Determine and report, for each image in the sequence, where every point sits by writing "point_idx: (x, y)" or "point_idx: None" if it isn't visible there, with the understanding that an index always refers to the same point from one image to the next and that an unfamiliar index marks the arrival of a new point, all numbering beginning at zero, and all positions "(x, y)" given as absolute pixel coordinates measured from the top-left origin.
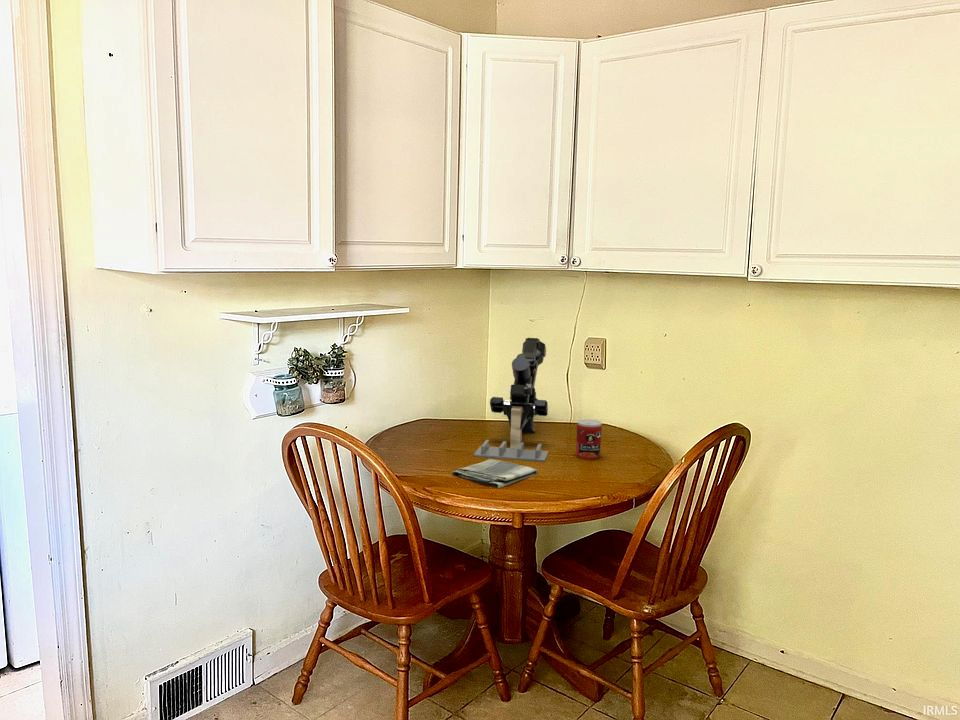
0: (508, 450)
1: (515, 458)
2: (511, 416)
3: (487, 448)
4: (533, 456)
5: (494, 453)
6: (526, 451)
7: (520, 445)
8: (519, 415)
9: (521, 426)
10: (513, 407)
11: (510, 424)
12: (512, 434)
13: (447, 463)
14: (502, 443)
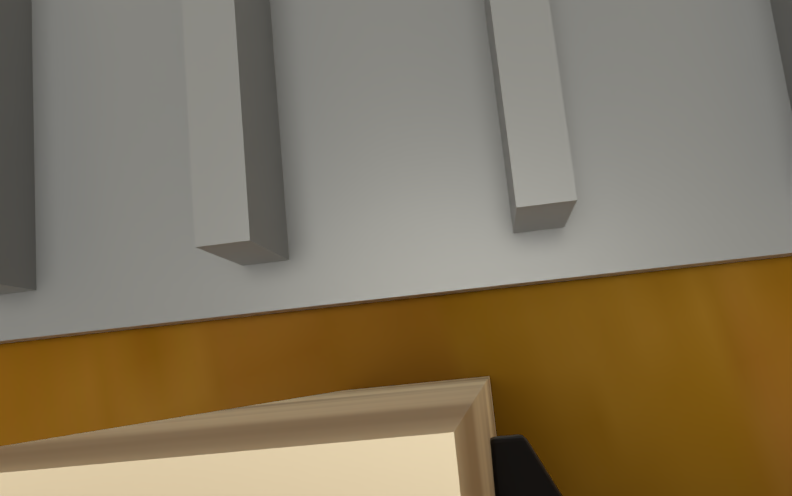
0: (455, 157)
1: None
2: (454, 404)
3: (790, 54)
4: (60, 20)
5: None
6: (191, 215)
7: (214, 44)
8: (27, 443)
9: None
10: None
11: (521, 489)
12: (441, 385)
13: None
14: (541, 31)
